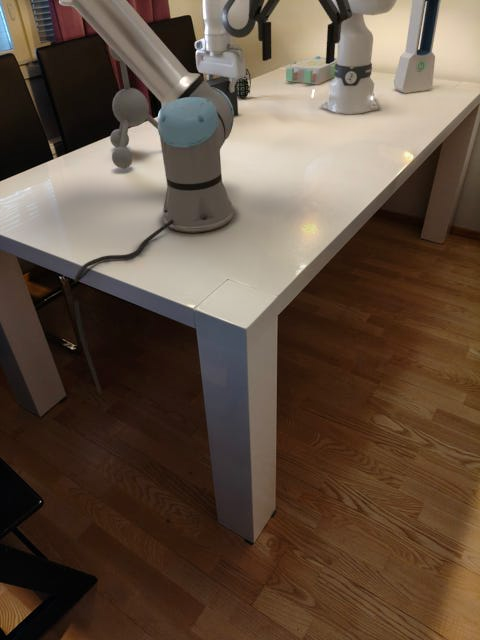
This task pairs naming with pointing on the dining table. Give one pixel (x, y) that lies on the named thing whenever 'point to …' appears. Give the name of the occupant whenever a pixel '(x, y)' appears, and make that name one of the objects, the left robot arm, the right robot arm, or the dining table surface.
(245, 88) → the grenade
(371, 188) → the dining table surface
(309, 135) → the dining table surface
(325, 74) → the decorative block
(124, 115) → the molecular model
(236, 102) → the box
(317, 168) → the dining table surface
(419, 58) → the electronic device
